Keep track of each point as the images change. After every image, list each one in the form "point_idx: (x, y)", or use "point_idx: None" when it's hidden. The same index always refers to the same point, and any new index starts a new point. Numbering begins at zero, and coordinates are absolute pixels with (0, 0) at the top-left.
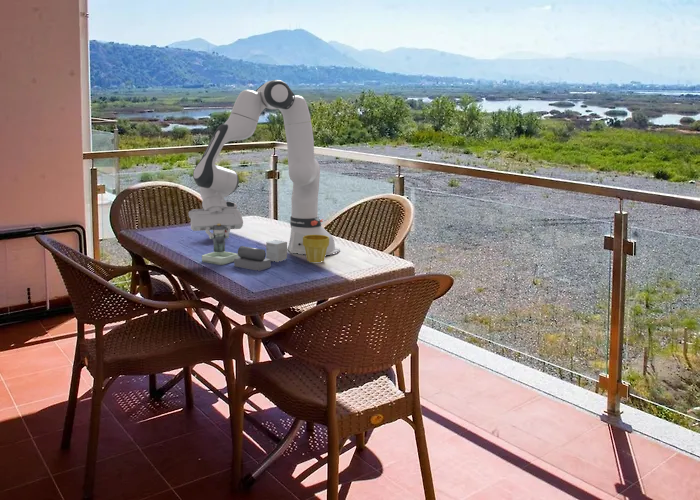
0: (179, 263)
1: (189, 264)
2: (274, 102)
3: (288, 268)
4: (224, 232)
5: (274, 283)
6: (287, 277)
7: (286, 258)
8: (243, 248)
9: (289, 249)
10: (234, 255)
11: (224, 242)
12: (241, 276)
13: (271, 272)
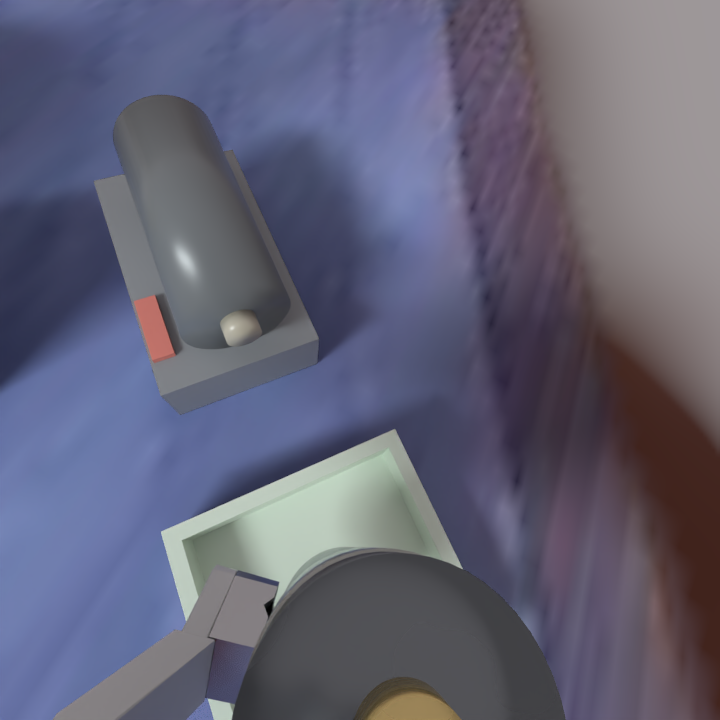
0: (682, 698)
1: (606, 608)
2: None
3: (53, 144)
4: (294, 584)
5: (307, 16)
6: (194, 41)
7: None
8: (245, 240)
9: None
10: (223, 505)
11: (300, 572)
12: (387, 161)
13: None
